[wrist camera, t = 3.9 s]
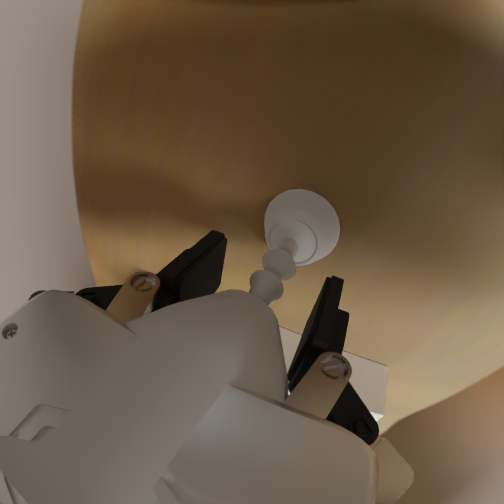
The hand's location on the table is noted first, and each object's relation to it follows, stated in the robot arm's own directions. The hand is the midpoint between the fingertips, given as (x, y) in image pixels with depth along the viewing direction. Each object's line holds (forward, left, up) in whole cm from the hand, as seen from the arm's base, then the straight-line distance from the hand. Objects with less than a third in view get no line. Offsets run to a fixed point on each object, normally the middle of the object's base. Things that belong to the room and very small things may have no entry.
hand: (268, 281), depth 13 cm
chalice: (0, 0, -7) cm, 7 cm away
